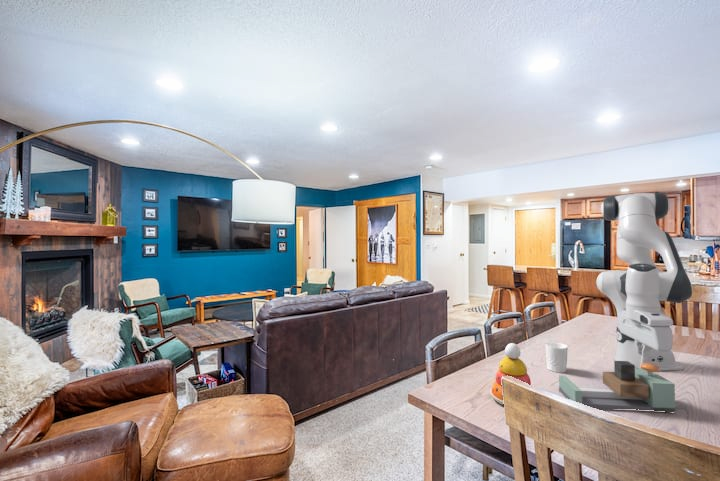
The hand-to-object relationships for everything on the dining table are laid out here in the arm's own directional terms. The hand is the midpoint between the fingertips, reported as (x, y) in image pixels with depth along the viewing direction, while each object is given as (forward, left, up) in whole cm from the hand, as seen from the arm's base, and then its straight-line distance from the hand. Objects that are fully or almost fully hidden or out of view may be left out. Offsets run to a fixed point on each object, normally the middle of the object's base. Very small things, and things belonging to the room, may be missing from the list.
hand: (643, 355), depth 111 cm
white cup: (+17, -24, -15) cm, 33 cm away
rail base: (+10, +2, -15) cm, 18 cm away
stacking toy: (+42, +5, -15) cm, 45 cm away
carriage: (+7, +2, -11) cm, 13 cm away
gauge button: (-1, +2, -6) cm, 6 cm away
